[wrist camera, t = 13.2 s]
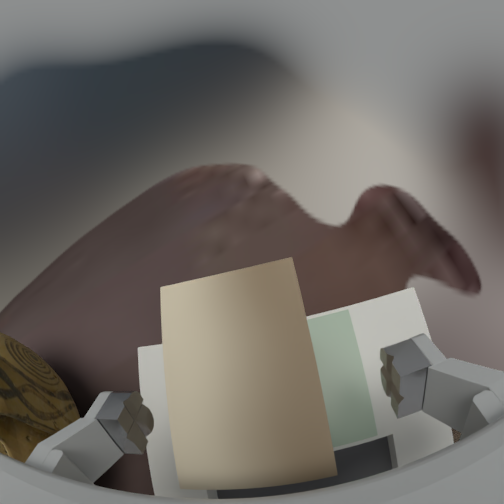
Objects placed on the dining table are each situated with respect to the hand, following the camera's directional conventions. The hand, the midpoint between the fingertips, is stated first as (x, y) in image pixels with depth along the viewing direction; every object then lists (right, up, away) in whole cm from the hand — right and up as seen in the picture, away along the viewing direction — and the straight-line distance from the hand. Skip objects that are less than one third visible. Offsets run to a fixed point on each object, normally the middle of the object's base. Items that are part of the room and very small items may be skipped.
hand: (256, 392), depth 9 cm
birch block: (+2, -4, +8) cm, 9 cm away
